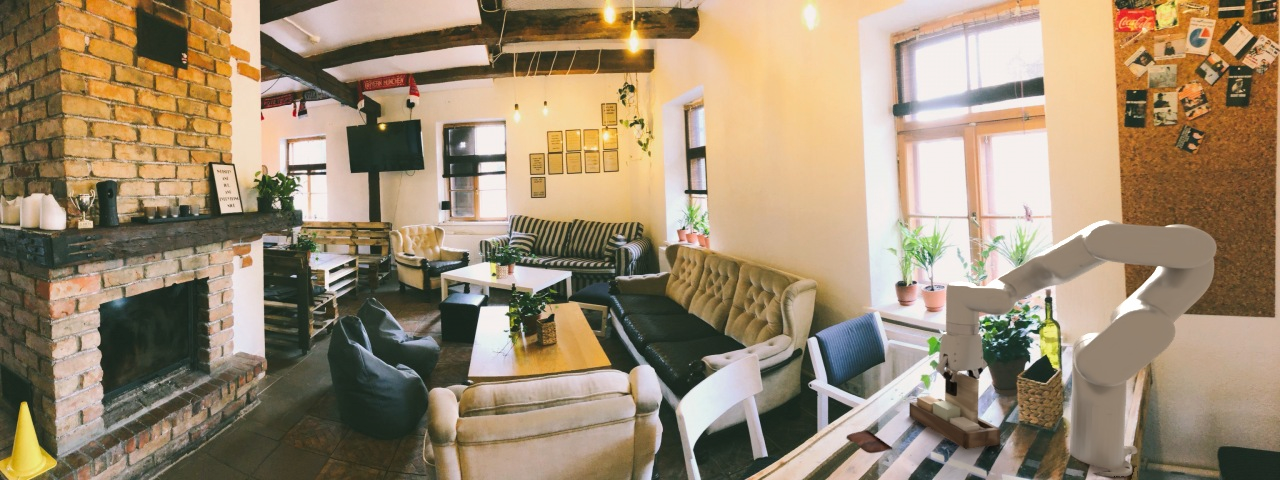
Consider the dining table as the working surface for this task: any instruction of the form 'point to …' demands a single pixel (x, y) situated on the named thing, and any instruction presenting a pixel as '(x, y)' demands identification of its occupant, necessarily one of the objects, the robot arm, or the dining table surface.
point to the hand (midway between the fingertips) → (961, 392)
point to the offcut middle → (946, 410)
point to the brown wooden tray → (957, 429)
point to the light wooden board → (965, 396)
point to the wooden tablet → (868, 441)
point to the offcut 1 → (926, 402)
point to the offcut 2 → (964, 424)
